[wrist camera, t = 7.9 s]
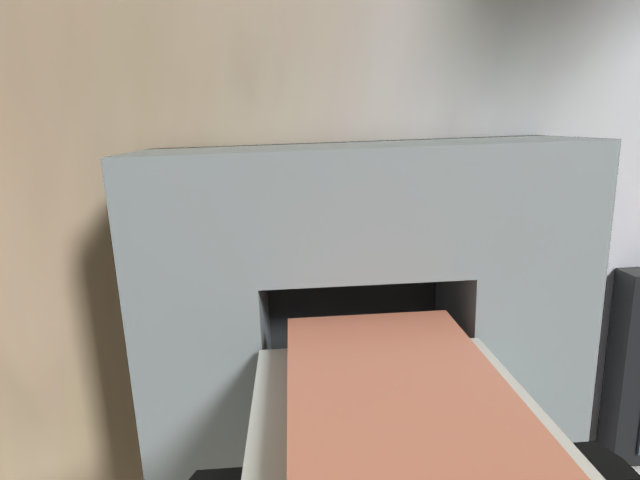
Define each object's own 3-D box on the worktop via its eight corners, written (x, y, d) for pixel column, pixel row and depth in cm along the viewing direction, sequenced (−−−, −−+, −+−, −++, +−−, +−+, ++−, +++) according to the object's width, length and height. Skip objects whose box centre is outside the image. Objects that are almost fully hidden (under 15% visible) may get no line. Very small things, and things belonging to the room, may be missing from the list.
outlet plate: (150, 148, 15) (100, 157, 11) (538, 135, 15) (621, 139, 12) (187, 488, 18) (158, 590, 14) (515, 466, 18) (575, 558, 14)
